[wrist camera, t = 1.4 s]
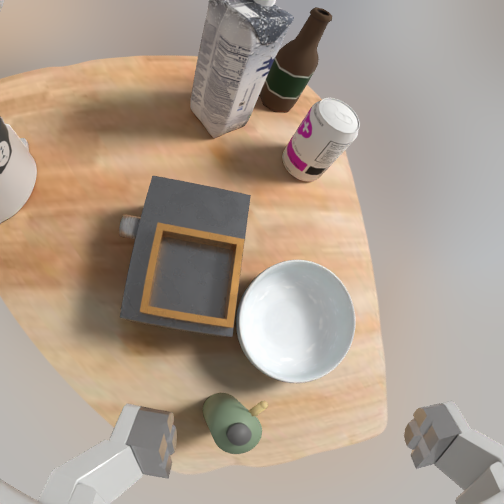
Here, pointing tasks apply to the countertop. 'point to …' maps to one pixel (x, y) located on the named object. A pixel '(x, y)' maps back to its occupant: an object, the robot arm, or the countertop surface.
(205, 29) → the juice carton
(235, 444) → the oil can
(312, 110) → the supplement can
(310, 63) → the beer bottle
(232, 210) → the box
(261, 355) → the cereal bowl
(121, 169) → the countertop surface
